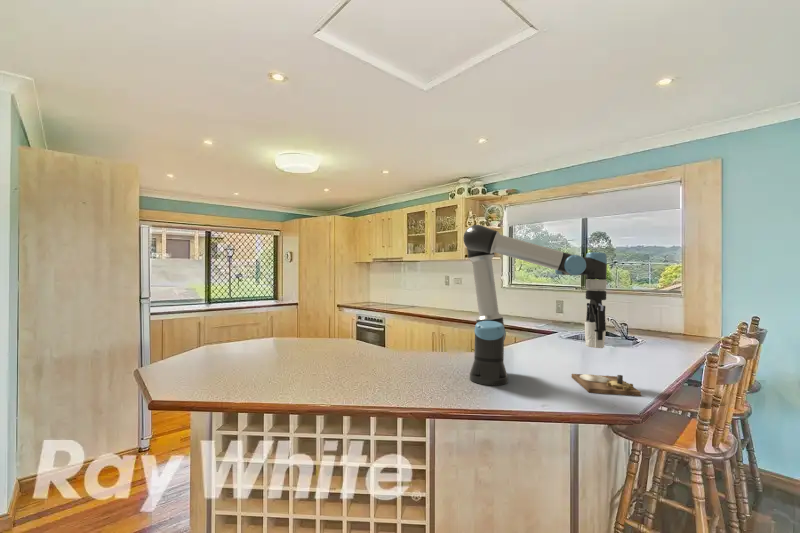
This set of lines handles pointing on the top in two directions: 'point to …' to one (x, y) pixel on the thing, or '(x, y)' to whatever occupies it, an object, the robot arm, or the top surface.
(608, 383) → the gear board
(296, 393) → the top surface
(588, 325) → the white cup
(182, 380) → the top surface
